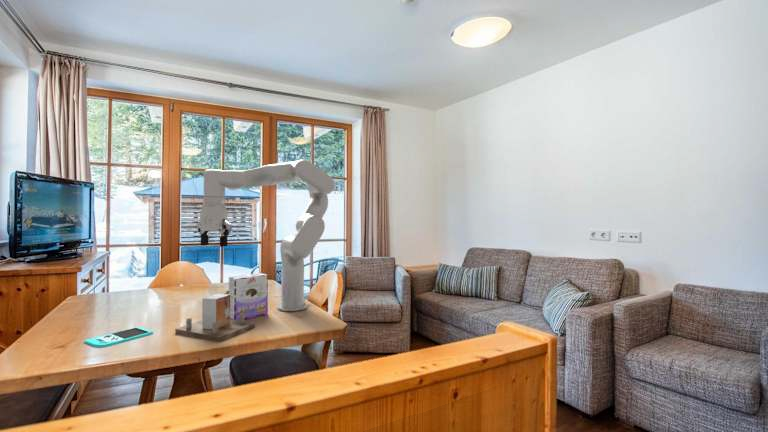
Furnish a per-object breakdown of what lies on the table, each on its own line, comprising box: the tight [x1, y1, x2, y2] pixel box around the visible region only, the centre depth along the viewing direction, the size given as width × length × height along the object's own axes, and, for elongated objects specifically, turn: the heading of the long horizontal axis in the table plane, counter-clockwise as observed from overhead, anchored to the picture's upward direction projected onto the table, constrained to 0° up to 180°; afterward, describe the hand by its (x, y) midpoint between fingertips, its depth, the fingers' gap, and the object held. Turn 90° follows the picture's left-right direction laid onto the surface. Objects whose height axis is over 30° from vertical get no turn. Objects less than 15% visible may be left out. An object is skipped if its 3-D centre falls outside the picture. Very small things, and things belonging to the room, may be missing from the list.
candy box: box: [228, 272, 269, 321], centre depth 147 cm, size 14×6×16 cm, turn 135°
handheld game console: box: [84, 326, 154, 348], centre depth 121 cm, size 10×16×1 cm, turn 150°
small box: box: [201, 293, 230, 329], centre depth 130 cm, size 8×6×10 cm
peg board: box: [174, 313, 256, 343], centre depth 130 cm, size 16×20×5 cm
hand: (213, 245), depth 143 cm, fingers open, 9 cm apart
